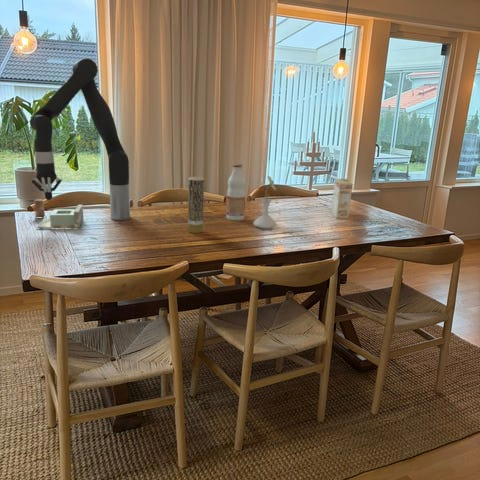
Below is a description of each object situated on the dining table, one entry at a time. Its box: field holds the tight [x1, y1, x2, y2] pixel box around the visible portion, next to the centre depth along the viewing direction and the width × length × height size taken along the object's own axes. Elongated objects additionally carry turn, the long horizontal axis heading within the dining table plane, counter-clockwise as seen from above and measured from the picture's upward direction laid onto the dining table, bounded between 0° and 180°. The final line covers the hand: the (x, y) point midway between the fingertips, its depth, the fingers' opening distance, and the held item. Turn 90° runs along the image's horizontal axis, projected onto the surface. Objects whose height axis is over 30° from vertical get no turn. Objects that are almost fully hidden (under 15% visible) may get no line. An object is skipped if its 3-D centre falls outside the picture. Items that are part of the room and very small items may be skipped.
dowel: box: [33, 198, 46, 218], centre depth 222 cm, size 4×4×8 cm
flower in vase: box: [253, 175, 277, 229], centre depth 221 cm, size 13×11×25 cm
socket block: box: [49, 208, 76, 226], centre depth 211 cm, size 10×10×5 cm
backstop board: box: [36, 204, 84, 230], centre depth 211 cm, size 18×14×8 cm
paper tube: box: [187, 176, 205, 234], centre depth 208 cm, size 7×7×25 cm
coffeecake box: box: [331, 178, 354, 220], centre depth 251 cm, size 15×7×20 cm, turn 179°
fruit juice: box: [225, 163, 247, 221], centre depth 234 cm, size 9×9×28 cm
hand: (49, 199), depth 207 cm, fingers closed
